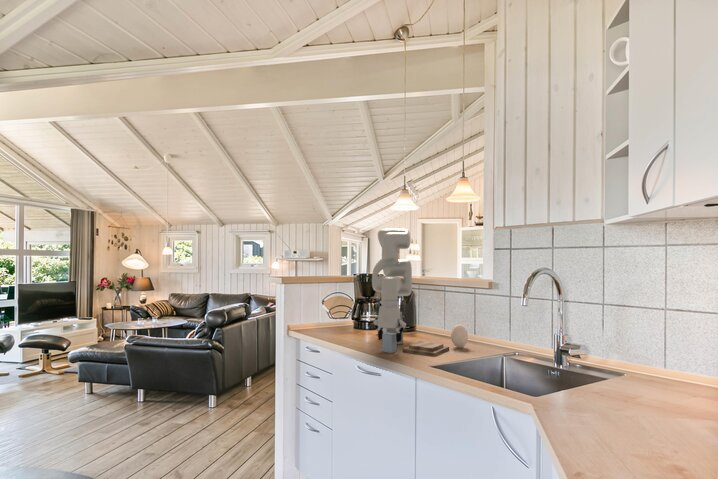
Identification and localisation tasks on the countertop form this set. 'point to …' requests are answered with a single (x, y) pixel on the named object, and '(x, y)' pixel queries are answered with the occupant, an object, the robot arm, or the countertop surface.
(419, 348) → the pedestal
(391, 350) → the slate block
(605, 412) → the countertop surface
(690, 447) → the countertop surface
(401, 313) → the skincare box
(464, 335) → the egg
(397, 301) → the robot arm
